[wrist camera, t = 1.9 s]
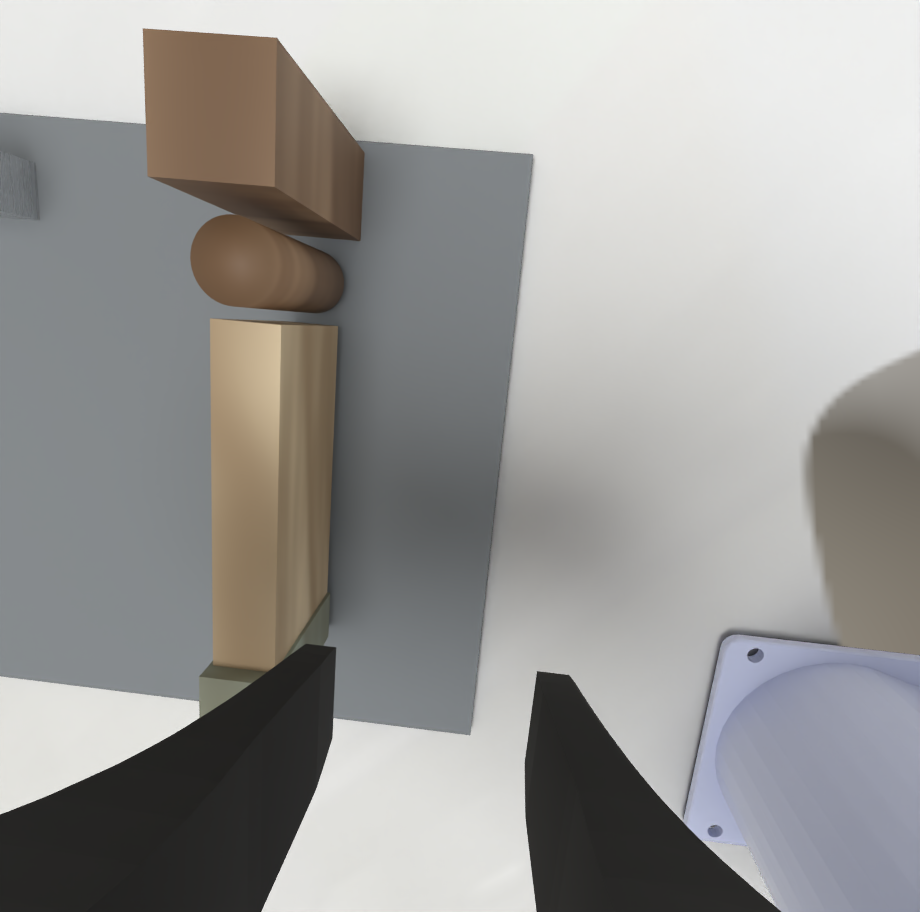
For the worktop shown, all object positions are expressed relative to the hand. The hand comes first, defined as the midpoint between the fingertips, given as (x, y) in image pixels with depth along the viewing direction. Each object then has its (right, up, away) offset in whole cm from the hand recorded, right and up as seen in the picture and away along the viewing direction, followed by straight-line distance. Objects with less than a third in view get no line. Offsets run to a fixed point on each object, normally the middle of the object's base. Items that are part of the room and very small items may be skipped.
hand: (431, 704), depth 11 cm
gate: (-4, +5, +7) cm, 9 cm away
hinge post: (-4, +13, +6) cm, 14 cm away
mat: (-8, +5, +8) cm, 13 cm away
